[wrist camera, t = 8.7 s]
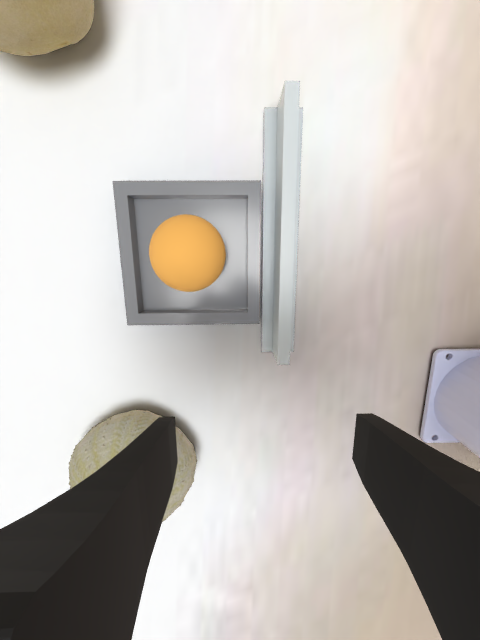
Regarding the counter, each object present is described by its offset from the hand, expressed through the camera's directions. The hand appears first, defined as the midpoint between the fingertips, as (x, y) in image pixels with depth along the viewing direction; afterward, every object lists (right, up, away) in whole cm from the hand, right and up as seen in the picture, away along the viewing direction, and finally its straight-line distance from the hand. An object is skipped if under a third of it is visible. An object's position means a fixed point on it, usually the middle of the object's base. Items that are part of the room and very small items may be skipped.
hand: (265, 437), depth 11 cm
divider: (+2, +10, +8) cm, 13 cm away
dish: (-4, +9, +9) cm, 13 cm away
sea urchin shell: (-9, -6, +12) cm, 17 cm away
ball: (-4, +9, +6) cm, 11 cm away
